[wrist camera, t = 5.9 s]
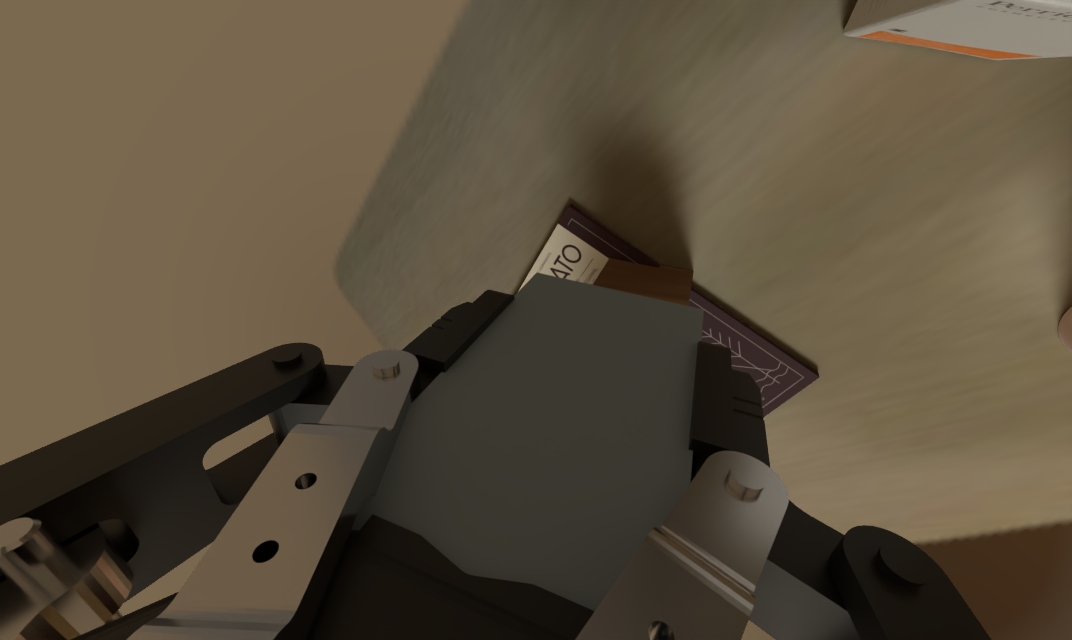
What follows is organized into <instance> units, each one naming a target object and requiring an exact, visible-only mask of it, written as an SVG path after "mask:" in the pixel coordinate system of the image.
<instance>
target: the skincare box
mask: <svg viewBox="0 0 1072 640" xmlns="http://www.w3.org/2000/svg"><path fill="white" fill-rule="evenodd" d="M843 34H844V35H845V36H851V37H859V38H867V39H874V40H881V41H888V42H895V43H902V44H910V45H916V46H922V47H928V48H933V49H938V50H944V51H949V52H954V53H960V54H965V55H971V56H976V57H981V58H986V59H992V60H1004V59H1030V58H1049V57H1067V56H1072V0H858V1H857V3H856V5H855V8H854V10H853V12H852V14H851V16H850V18H849V21H848V23H847V25H846V27H845V28H844V31H843Z"/></svg>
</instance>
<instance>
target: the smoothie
mask: <svg viewBox="0 0 1072 640" xmlns="http://www.w3.org/2000/svg"><path fill="white" fill-rule="evenodd" d="M1058 335H1059V338H1060V340H1061V341H1062V343H1063V344H1064V345H1065V346H1066V347H1067V349H1068V350H1069V351H1070V352H1071V353H1072V307H1071V308H1070V309H1069V310H1068V311H1067V312H1066V313H1065V314H1064V315H1063V317H1062V318H1061V320H1060V323H1059V326H1058Z"/></svg>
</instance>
